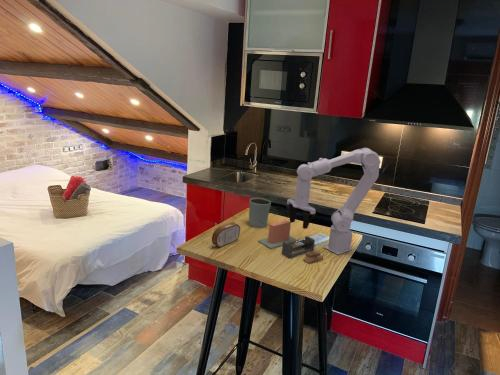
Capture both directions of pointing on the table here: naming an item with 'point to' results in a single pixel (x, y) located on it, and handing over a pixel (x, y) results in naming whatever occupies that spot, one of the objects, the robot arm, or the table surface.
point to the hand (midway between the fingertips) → (298, 225)
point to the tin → (226, 234)
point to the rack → (288, 248)
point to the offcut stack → (313, 257)
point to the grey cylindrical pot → (258, 212)
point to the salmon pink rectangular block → (279, 231)
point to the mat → (277, 244)
